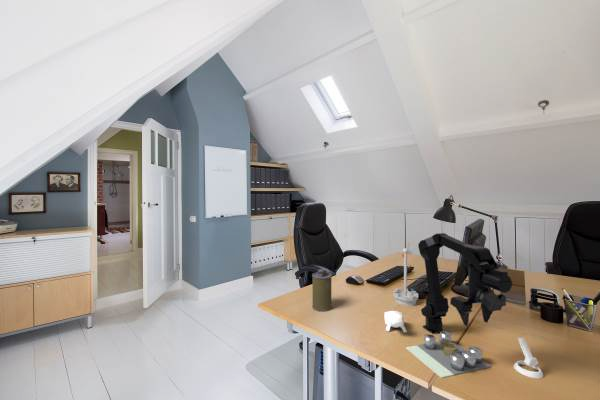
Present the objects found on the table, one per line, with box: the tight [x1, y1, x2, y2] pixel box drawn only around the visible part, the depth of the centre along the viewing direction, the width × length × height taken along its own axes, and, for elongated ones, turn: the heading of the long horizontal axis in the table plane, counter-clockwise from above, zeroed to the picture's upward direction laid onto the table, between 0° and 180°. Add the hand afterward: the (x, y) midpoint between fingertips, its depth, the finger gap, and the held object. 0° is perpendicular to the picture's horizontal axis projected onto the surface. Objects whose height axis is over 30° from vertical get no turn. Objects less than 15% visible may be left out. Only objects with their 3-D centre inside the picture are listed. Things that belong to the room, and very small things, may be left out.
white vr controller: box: [513, 336, 544, 379], centre depth 94 cm, size 8×12×7 cm
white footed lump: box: [383, 310, 407, 334], centre depth 121 cm, size 9×8×15 cm
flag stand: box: [392, 247, 419, 307], centre depth 151 cm, size 13×13×30 cm
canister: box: [311, 268, 333, 312], centre depth 144 cm, size 11×10×20 cm
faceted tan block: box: [441, 341, 458, 357], centre depth 102 cm, size 5×6×3 cm
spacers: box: [423, 330, 483, 371], centre depth 101 cm, size 18×14×4 cm
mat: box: [405, 339, 492, 379], centre depth 100 cm, size 18×21×1 cm
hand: (475, 323), depth 100 cm, fingers open, 9 cm apart
